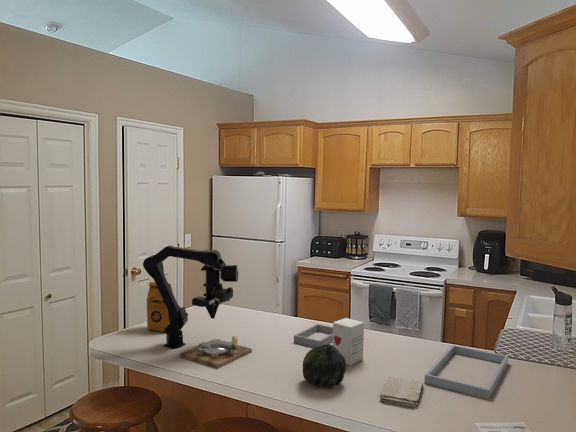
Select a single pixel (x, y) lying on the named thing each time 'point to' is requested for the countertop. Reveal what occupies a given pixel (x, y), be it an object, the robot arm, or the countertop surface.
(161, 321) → the coffee package
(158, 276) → the robot arm
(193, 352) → the walnut base
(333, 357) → the squash
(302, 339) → the grey frame
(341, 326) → the supplement box
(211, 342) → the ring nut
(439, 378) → the slate carton frame
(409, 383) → the washcloth
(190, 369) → the countertop surface
